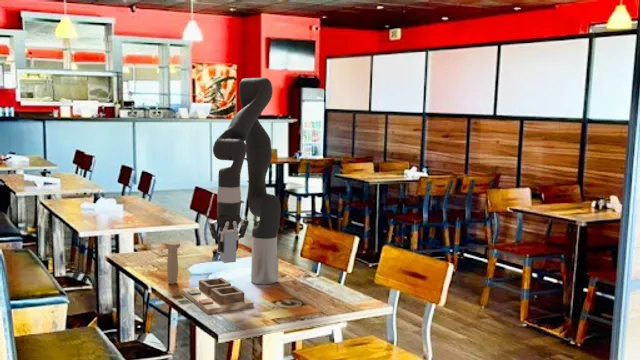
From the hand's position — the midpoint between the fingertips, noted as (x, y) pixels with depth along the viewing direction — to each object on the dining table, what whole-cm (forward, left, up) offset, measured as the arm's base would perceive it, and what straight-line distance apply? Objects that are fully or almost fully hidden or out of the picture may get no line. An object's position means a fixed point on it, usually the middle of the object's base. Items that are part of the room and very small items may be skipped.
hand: (228, 251), depth 215 cm
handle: (+8, -30, -18) cm, 36 cm away
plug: (0, 0, -3) cm, 3 cm away
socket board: (+1, -5, -18) cm, 19 cm away
